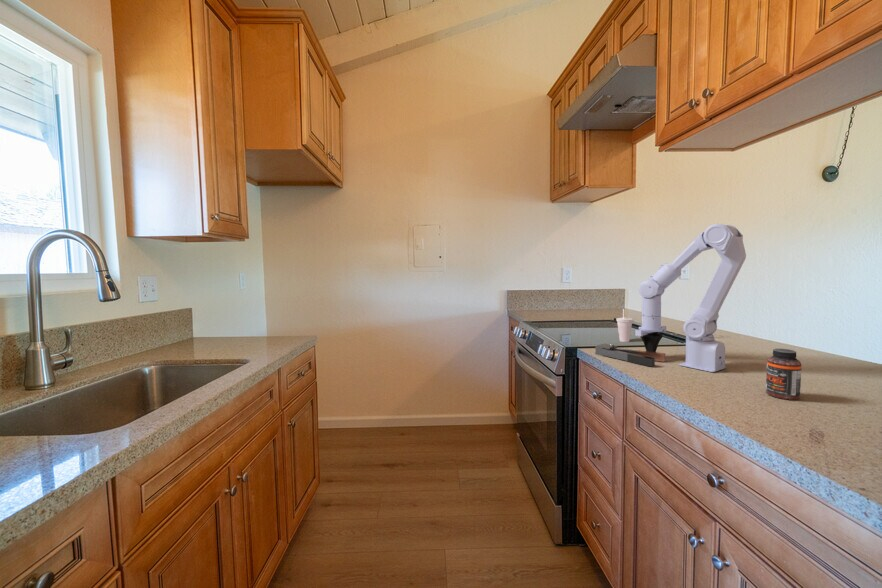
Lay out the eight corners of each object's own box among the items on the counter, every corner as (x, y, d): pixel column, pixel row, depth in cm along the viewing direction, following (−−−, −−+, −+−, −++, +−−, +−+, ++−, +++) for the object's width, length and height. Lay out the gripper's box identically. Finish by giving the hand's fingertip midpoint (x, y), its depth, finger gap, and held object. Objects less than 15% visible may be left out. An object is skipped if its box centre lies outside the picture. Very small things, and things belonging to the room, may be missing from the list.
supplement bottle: (759, 394, 86) (761, 349, 85) (774, 390, 88) (775, 346, 87) (791, 402, 80) (793, 354, 79) (805, 398, 82) (807, 351, 81)
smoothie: (612, 340, 150) (612, 308, 149) (622, 338, 153) (623, 307, 152) (626, 343, 144) (626, 309, 143) (636, 341, 147) (636, 308, 146)
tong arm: (665, 360, 117) (665, 352, 117) (664, 362, 115) (664, 354, 115) (609, 353, 128) (609, 346, 128) (607, 355, 126) (607, 348, 126)
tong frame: (659, 365, 112) (659, 352, 112) (651, 367, 110) (651, 354, 110) (602, 352, 131) (602, 341, 131) (594, 354, 129) (594, 343, 128)
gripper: (652, 312, 126) (651, 349, 127) (627, 316, 120) (626, 354, 121) (672, 314, 120) (672, 352, 121) (647, 318, 114) (646, 359, 115)
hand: (650, 354), depth 121 cm, fingers closed
